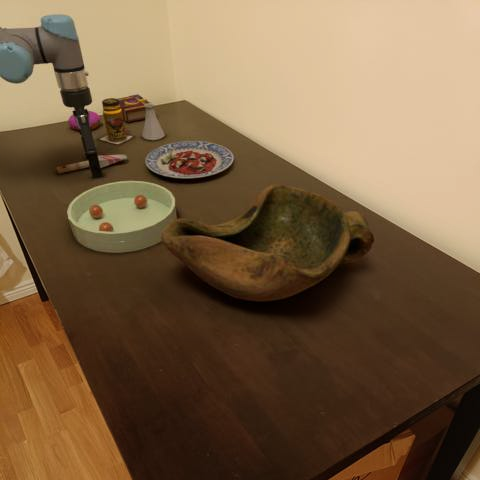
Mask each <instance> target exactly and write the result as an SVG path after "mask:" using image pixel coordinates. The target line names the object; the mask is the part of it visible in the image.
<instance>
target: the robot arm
mask: <svg viewBox="0 0 480 480" xmlns="http://www.w3.org/2000/svg"><path fill="white" fill-rule="evenodd" d="M48 64H52V66H53V73H54V76H55V80H56V82H57V87H58V88H59V89H60V91H59V93H60V97H61V101H62V103H63V106H65V107H66V108H70V109H71V108H73V110H72V115H74V118H75V121H76V123H77V126H78V129H79V130H78V131H79V135H80V138H81V142H82V146H83V150H84V151H83V155H84V156H85V157H86V160H87V161H89V165H90V167H89V169H90V173H91V177H92V179H93V178H100V177H103V173H102V168H100V164H99V160H98V156H99V155H98V151H97V147H96V144H95V141H94V136H93V132H92V130H91V123H90V120H89V119H90V116H89V113H88V111H89V110H88V108H85V107H87V106H90V105H91V104H92V103H93V97H92V93H91V89H90V87H89V80H88V77H89V75H90V74H89V72H88V71H86V68H85V63H84V58H83V53H82V48H81V44H80V39H79V36H78V32H77V29H76V25H75V21H74V19H73V18H72V17H71V16H70V15H68V14H61V13H60V14H56V13H55V14H47V15H43V16H41V18H40V25H39V26H37V27H36V26H35V27H17V28H15V27H13V28H7V27H1V26H0V78H1V79H3V80H4V81H5V82H7V83H10V84H16V85H17V84H22V83H25V82H26V81H27V80H28V79H29V78H30V77H31V76H32V75H33V72H34V69H35V68H34V67H35V65H48Z"/></svg>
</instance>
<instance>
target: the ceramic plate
mask: <svg viewBox="0 0 480 480" xmlns="http://www.w3.org/2000/svg"><path fill="white" fill-rule="evenodd" d="M233 162H234V154H233V152H232V151H231V150H229V148H227V147H225V146H224V145H220V144H217V143H214V142H209V141H202V140H201V141H200V140H185V141H177V142H171V143H168V144H167V143H166V144H164V145H161V146H159V147H157V148H154V149H153V150H152V151H150V152H149V153H148V154H147V156H146V157H145V165H146V167H147V168H148V169H149V170H150V171H151V172H153V173H155V174H157V175H159V176H162V177H167V178H171V179H172V178H173V179H182V180H186V179H199V178H201V179H202V178H205V177H210V176H215V175H216V174H219V173H222V172H223V171H226V170H227V169H228V168H229V167H230V166H232V164H233Z"/></svg>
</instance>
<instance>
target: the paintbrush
mask: <svg viewBox="0 0 480 480" xmlns="http://www.w3.org/2000/svg"><path fill="white" fill-rule="evenodd" d="M126 159H128V156H127V155H126V154H105V155H103V154H102V155H98V160H99V164H100V168H101V169H102V168H104V167H107V166H110V165H112V164H116V163H119V162H120V161H123V160H126ZM87 168H90V165H89V161H88V160H86V161H81V162H75V163H70V164H67V165H62V166H57V167H56V171H57V173H58V175H59V174H65V173H69V172H74V171H77V170H83V169H87Z"/></svg>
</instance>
